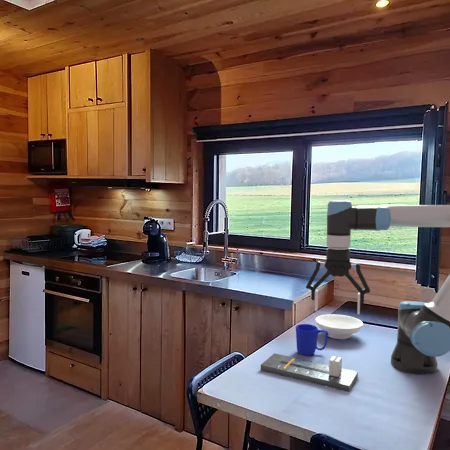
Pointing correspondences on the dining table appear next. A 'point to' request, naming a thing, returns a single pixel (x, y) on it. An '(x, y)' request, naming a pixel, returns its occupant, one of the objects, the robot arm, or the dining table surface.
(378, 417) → the dining table surface
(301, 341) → the mug
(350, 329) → the bowl
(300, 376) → the console
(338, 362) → the block
